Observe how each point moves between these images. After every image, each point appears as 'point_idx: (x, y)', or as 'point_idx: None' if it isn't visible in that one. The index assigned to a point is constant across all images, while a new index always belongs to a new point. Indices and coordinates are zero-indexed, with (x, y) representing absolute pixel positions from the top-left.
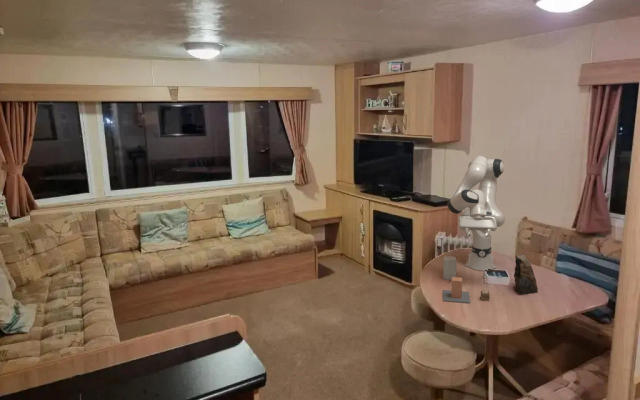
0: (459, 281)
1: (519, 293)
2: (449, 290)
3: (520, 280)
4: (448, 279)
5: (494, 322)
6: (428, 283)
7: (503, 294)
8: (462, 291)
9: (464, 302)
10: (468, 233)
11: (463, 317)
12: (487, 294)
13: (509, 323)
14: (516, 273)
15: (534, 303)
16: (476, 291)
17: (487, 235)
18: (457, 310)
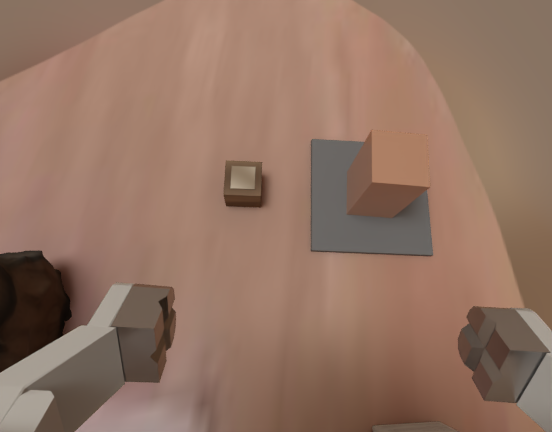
0: (385, 132)
1: (59, 275)
2: (402, 251)
3: (15, 256)
4: (414, 423)
5: (240, 13)
6: None
7: (144, 257)
8: (340, 249)
9: (335, 141)
10: (532, 326)
11: (342, 33)
12: (235, 161)
13: (190, 12)
14: (6, 293)
15: (30, 179)
16: (271, 274)
17: (126, 285)
18: (362, 79)
